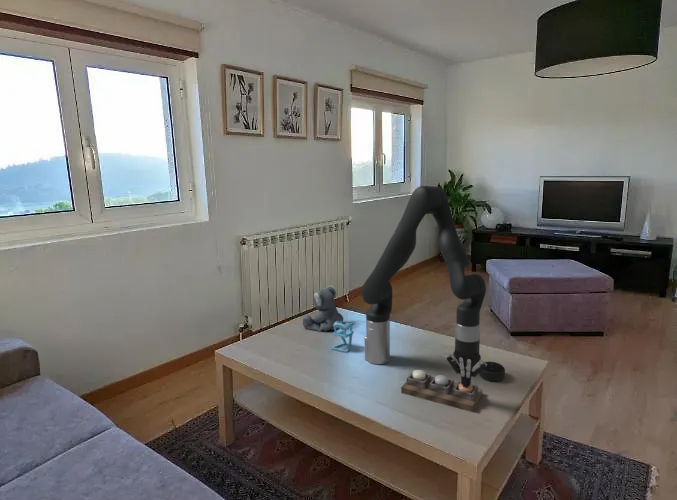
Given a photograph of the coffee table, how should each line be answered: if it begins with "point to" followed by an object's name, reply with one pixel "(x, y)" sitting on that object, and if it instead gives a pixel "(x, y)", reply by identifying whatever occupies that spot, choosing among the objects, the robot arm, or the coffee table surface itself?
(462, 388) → the terracotta button
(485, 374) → the smart speaker
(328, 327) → the koala plush
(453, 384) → the button panel
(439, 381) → the grey button
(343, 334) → the light blue frame stand
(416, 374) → the cream button
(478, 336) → the robot arm
